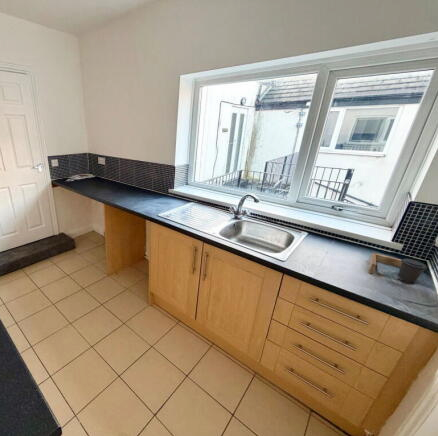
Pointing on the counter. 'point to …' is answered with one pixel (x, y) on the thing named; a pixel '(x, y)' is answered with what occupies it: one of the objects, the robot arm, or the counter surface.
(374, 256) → the corner guard
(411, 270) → the coffee cup
